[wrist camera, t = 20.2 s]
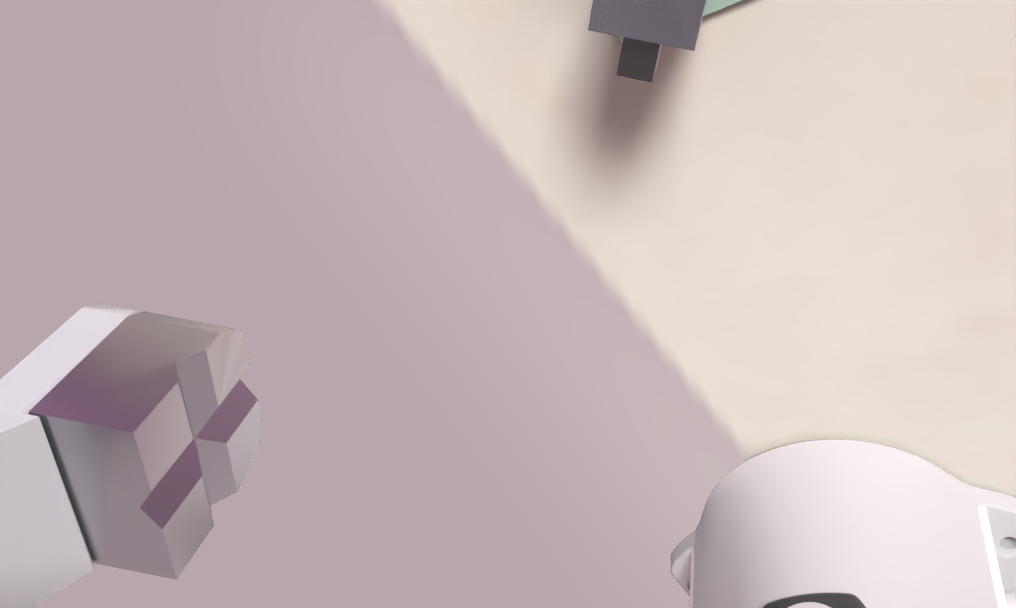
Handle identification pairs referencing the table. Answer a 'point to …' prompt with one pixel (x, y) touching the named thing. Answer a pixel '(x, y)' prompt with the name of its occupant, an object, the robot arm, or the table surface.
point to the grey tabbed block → (647, 30)
